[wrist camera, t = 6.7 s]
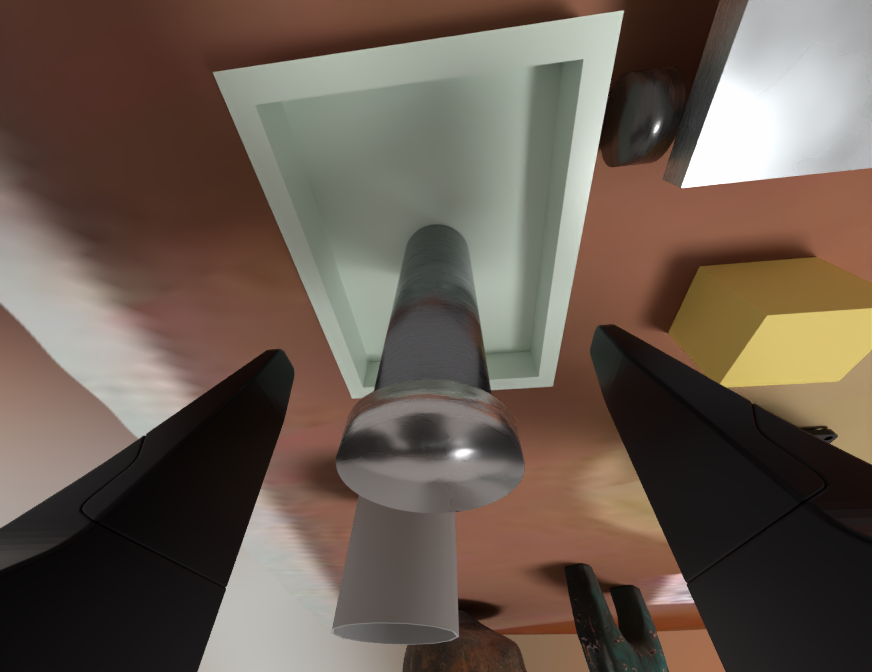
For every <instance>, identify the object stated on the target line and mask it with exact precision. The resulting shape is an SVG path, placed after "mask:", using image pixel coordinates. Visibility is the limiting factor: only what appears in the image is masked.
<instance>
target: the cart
mask: <svg viewBox="0 0 872 672" xmlns="http://www.w3.org/2000/svg"><path fill="white" fill-rule="evenodd" d="M685 99H686V86H685V80H684V76H683V74H682V72H681V71H680V70H679V69H678V68H677V67H665V68H657V69H650V70H642V71H635V72H628V73H625V74H623V75H622V76H621V77H620V78H619V79H618V81H617V82H616V84H615V85H614V87H613V89H612V91H611V93H610V96H609V98H608V101H607V104H606V109H605V114H604V119H603V124H602V130H601V151H602V156H603V159H604V161H605V163H606V164H607V165H608V166H609V167H618V166H627V165H636V164H645V163H652V162H655V161H657V160H658V159H659V158H661V157H662V156H663V155H664V153H665V152H666V151H667V150H668V148H669V147H670V145H671V143H672V142H673V140H674V138H675V136H676V134H677V136H676V139H675V142H674V145H673V148H672V151H671V155H670V158H669V161H668V164H667V167H666V170H665V173H664V177H663V180H665V181H667V182H669V183H672V184H674V185H676V186H678V187H680V188H685V187H695V186H704V185H714V184H723V183H733V182H742V181H752V180H761V179H770V178H780V177H789V176H799V175H808V174H818V173H827V172H837V171H846V170H856V169H865V168H872V0H720V1H719V4H718V7H717V11H716V14H715V17H714V20H713V23H712V26H711V29H710V33H709V36H708V39H707V42H706V45H705V48H704V51H703V54H702V58H701V61H700V64H699V67H698V70H697V73H696V76H695V79H694V83H693V86H692V89H691V92H690V95H689V98H688V101H687V102H685ZM678 129H679V130H678ZM677 131H678V133H677Z"/></svg>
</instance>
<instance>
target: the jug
mask: <svg viewBox="0 0 872 672" xmlns="http://www.w3.org/2000/svg"><path fill="white" fill-rule="evenodd" d="M458 620H459V637H457V638H455V639H453V640H452V641H446V642H440V643H434V644H414V645H407V648H406V652H405V657H404V663H403V672H527V671H526V669H525V665H524V661H523V657H522V654H521V651H520V649H519V647H518V646H517V644H516V643H515V642H514V641H512V640H510V639H509V638H507V637H505V636H503V635H501V634H499V633H497V632H495V631H493V630H492V629H490V628H488V627H486V626H484V625H483V624H481V623H480V622H478V621H477V620H476V619H475V618H473V617H472V616H471V615H469V614H468V613H466V612H464V611H462V610H458Z"/></svg>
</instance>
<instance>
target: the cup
mask: <svg viewBox="0 0 872 672" xmlns="http://www.w3.org/2000/svg"><path fill="white" fill-rule="evenodd" d="M332 634H334V635H336V636H339V637H341V638H345V639H350V640H355V641H361V642H371V643H380V644H407V645H414V644H434V643H440V642H446V641H452V640H453V639H455V638H457V637H459V620H458V587H457V554H456V521H455V512H450V513H418V512H409V511H403V510H398V509H394V508H389V507H386V506H383V505H380V504H377V503H374V502H372V501H370V500H368V499H366V498H363V497H362V496H360V495H359V497H358V502H357V507H356V512H355V517H354V522H353V527H352V532H351V537H350V542H349V547H348V552H347V557H346V562H345V567H344V572H343V577H342V582H341V587H340V592H339V597H338V602H337V607H336V612H335V618H334V623H333V628H332Z"/></svg>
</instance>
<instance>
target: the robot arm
mask: <svg viewBox="0 0 872 672" xmlns="http://www.w3.org/2000/svg"><path fill="white" fill-rule="evenodd" d="M590 354H591V358H592V361H593V365H594V368H595V371H596V374H597V378H598V381H599V384H600V387H601V391H602V394H603V397H604V400H605V403H606V405H607V408H608V410H609V412H610V415H611V417H612V419H613V421H614V423H615V426H616V428H617V430H618V432H619V435H620V437H621V439H622V441H623V444H624V446H625V448H626V450H627V452H628V455H629V457H630V459H631V461H632V464H633V466H634V468H635V470H636V472H637V475H638V477H639V479H640V481H641V484H642V486H643V488H644V490H645V493H646V495H647V497H648V499H649V501H650V504H651V506H652V508H653V510H654V513H655V515H656V517H657V519H658V521H659V524H660V526H661V528H662V530H663V533H664V535H665V537H666V539H667V542H668V544H669V546H670V548H671V550H672V553H673V555H674V557H675V559H676V562H677V564H678V566H679V568H680V571H681V573H682V575H683V577H684V579H685V581H686V582H687V587H688V589H689V591H690V593H691V596H692V598H693V600H694V602H695V605H696V607H697V609H698V611H699V613H700V616H701V618H702V620H703V622H704V625H705V627H706V629H707V631H708V633H709V636H710V638H711V640H712V642H713V644H714V647H715V649H716V651H717V654H718V656H719V658H720V660H721V662H722V664H723V667H724V669H725V671H726V672H872V465H871V464H869V463H867V462H865V461H863V460H861V459H859V458H857V457H855V456H853V455H851V454H849V453H847V452H845V451H843V450H841V449H839V448H837V447H835V446H833V445H831V444H830V443H831V442H832V441H833V440H835V439H836V438H837V437H838V435H837V434H836V433H835V432H833V431H832V430H831V429H823V430H802V429H800V428H798V427H796V426H795V425H793V424H791V423H789V422H787V421H785V420H783V419H782V418H780V417H778V416H776V415H774V414H773V413H771V412H769V411H767V410H765V409H764V408H762V407H760V406H758V405H757V404H752V403H751V401H749V400H747V399H746V398H744V397H742V396H740V395H739V394H737V393H735V392H733V391H731V390H730V389H728V388H726V387H724V386H723V385H721V384H719V383H717V382H715V381H714V380H712V379H710V378H708V377H707V376H705V375H703V374H701V373H699V372H698V371H696V370H694V369H692V368H691V367H689V366H687V365H685V364H683V363H682V362H680V361H678V360H676V359H675V358H673V357H671V356H669V355H667V354H666V353H664V352H662V351H660V350H659V349H657V348H655V347H653V346H651V345H650V344H648V343H646V342H644V341H643V340H641V339H639V338H637V337H635V336H634V335H632V334H630V333H628V332H627V331H625V330H623V329H621V328H619V327H618V326H616V325H613V324H608V325H599V326H597V327H596V329H595V332H594V336H593V340H592V344H591V348H590ZM293 380H294V368H293V366H292V364H291V362H290V361H289V359H288V357H287V355H286V354H285V352H284V351H283V350H282V349H271V350H267V351H265V352H264V353H262V354H261V355H259V356H258V357H256V358H255V359H253V360H252V361H251V362H249V363H248V364H246V365H245V366H243V367H242V368H241V369H239V370H238V371H236V372H235V373H233V374H232V375H230V376H229V377H228V378H226V379H225V380H223V381H222V382H220V383H219V384H217V385H216V386H215V387H213V388H212V389H210V390H209V391H207V392H206V393H204V394H203V395H202V396H200V397H199V398H197V399H196V400H194V401H193V402H192V403H190V404H189V405H187V406H186V407H184V408H183V409H181V410H180V411H179V412H177V413H176V414H174V415H173V416H171V417H170V418H168V419H167V420H166V421H164V422H163V423H161V424H160V425H158V426H157V427H156V428H154V429H153V430H151V431H150V432H148V433H147V434H146V436H142V437H141V438H140V439H138V440H137V441H135V442H134V443H132V444H131V445H130V446H128V447H127V448H125V449H124V450H122V451H121V452H119V453H118V454H116V455H115V456H113V457H112V458H110V459H109V460H107V461H106V462H104V463H103V464H101V465H100V466H98V467H97V468H95V469H94V470H92V471H90V472H89V473H88V474H86V475H84V476H83V477H81V478H80V479H78V480H77V481H75V482H73V483H72V484H70V485H69V486H67V487H65V488H64V489H62V490H61V491H59V492H57V493H56V494H54V495H53V496H51V497H49V498H48V499H46V500H45V501H43V502H42V503H40V504H38V505H37V506H36V507H34V508H32V509H30V510H29V511H27V512H26V513H24V514H22V515H21V516H19V517H18V518H16V519H15V520H13V521H11V522H10V523H8V524H7V525H5V526H3V527H2V528H0V672H197V671H198V668H199V665H200V663H201V660H202V657H203V654H204V651H205V648H206V645H207V642H208V640H209V637H210V634H211V631H212V628H213V625H214V622H215V619H216V616H217V614H218V610H219V607H220V605H221V602H222V599H223V596H224V593H225V591H226V588H225V587H226V586H227V584H228V581H229V578H230V575H231V573H232V570H233V567H234V564H235V561H236V558H237V555H238V552H239V549H240V547H241V544H242V541H243V538H244V535H245V532H246V529H247V526H248V524H249V521H250V518H251V515H252V512H253V509H254V506H255V503H256V500H257V498H258V495H259V492H260V489H261V486H262V483H263V480H264V477H265V475H266V472H267V469H268V466H269V463H270V460H271V457H272V454H273V451H274V449H275V446H276V443H277V440H278V437H279V434H280V431H281V428H282V425H283V422H284V419H285V415H286V411H287V406H288V402H289V397H290V393H291V388H292V384H293Z"/></svg>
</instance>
